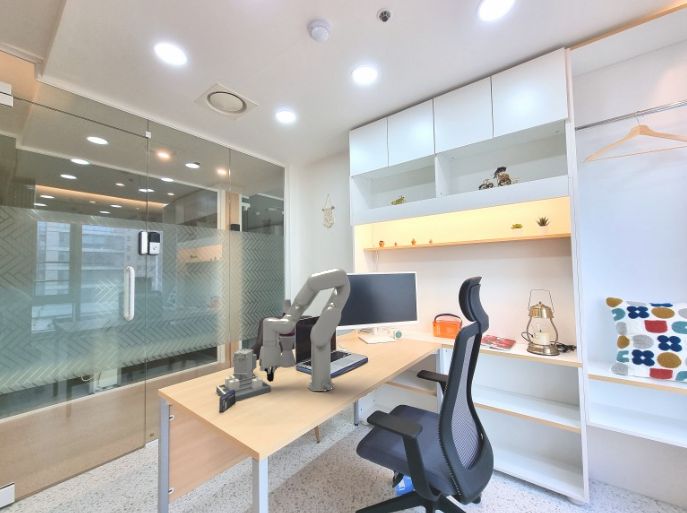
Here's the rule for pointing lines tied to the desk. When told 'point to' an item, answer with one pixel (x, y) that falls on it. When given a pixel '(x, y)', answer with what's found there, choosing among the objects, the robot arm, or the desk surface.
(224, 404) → the mini dv tape
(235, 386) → the tab
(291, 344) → the lamp
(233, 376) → the tab
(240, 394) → the switch bank
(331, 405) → the desk surface
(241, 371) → the circuit breaker
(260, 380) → the tab
